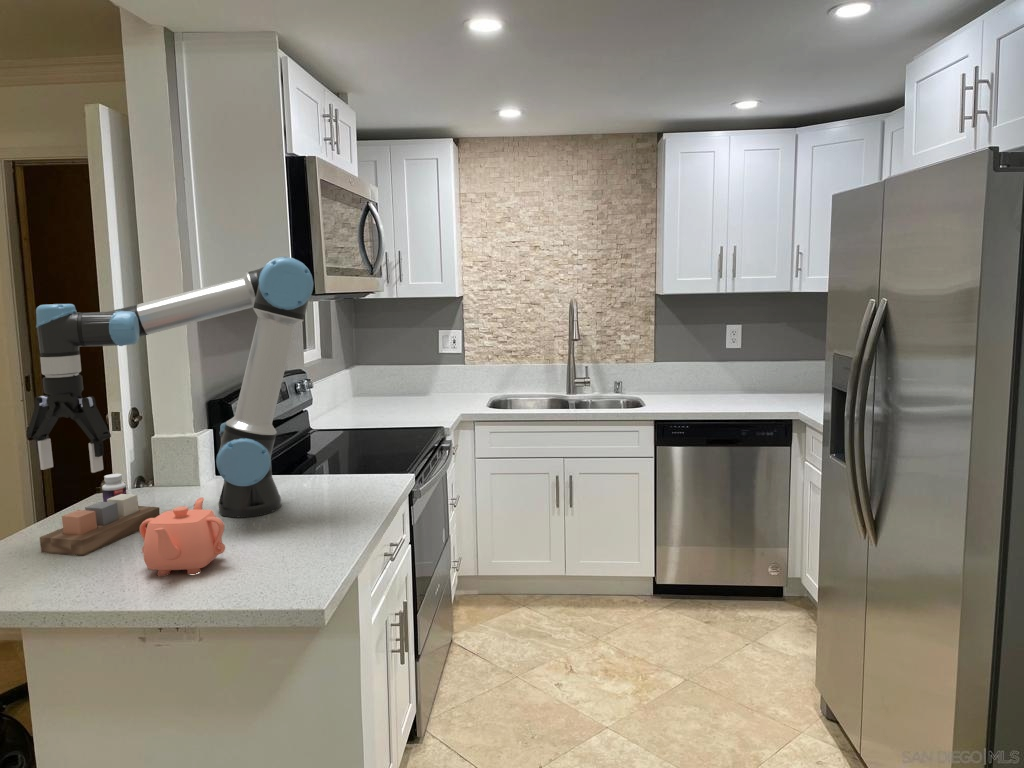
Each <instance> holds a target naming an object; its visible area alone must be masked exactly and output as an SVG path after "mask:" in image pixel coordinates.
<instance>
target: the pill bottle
mask: <svg viewBox="0 0 1024 768" xmlns="http://www.w3.org/2000/svg"><path fill="white" fill-rule="evenodd" d="M103 478H104V479H103V480H104V484H103V485H102V486H101V492H102V502H107V499H109V498H112V497H114V496H117V495H120V494H127V487H126V485H127V484H126V483H125V482H124V481H122V480H123V475H122V473H111V474H106V475H104V476H103Z"/></svg>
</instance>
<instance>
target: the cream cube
mask: <svg viewBox="0 0 1024 768" xmlns="http://www.w3.org/2000/svg"><path fill="white" fill-rule="evenodd" d="M138 499H139V498H138V494H129V493H126V494H120V495H117V496H114V497H112V498H109V499H107V502H114V503H117V507H118V516H121V517H125V516H128V515H130V514H133V513H135V512H137V511H139V508H138V506H139V500H138Z"/></svg>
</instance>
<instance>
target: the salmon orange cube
mask: <svg viewBox="0 0 1024 768" xmlns="http://www.w3.org/2000/svg"><path fill="white" fill-rule="evenodd" d="M61 520H62V521H61V522H62V528H63V532H64V534H73V535H82V534H85V533H87V532H89V531H92V530H94V529H97V523H96V513H95V511H87V510H85V509H82V510H81V509H78V510H77V509H76V510H75V511H72V512H69V513H67V514H64V515H61Z"/></svg>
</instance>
